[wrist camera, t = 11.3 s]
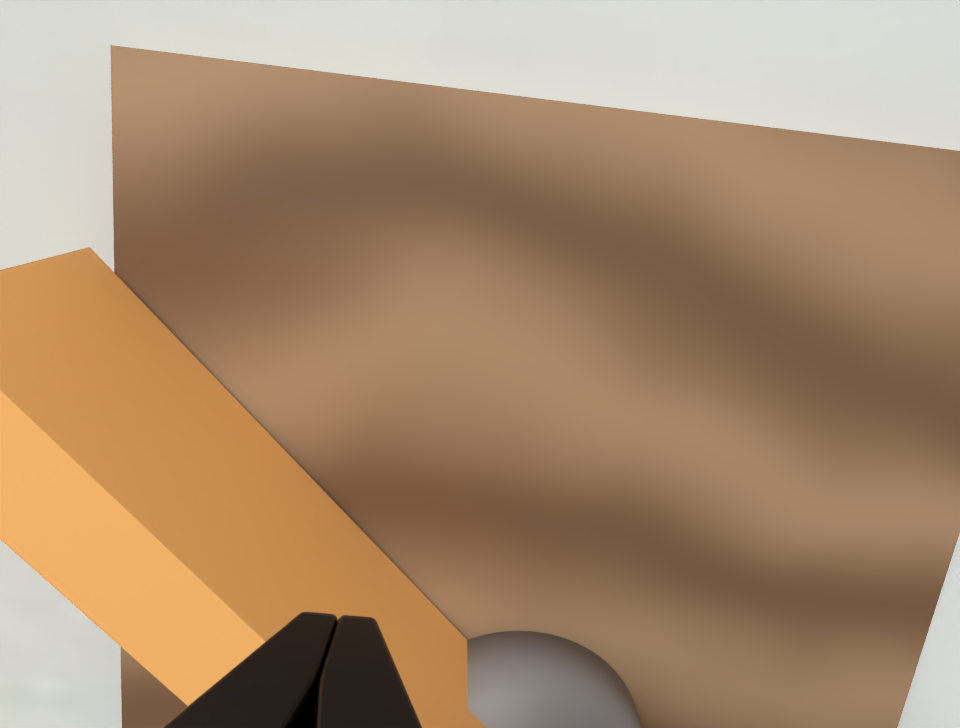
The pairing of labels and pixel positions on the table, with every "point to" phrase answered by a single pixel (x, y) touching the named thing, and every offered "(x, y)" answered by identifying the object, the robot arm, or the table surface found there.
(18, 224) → the table surface
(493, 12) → the table surface
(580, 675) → the orange and grey block
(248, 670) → the robot arm
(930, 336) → the board
